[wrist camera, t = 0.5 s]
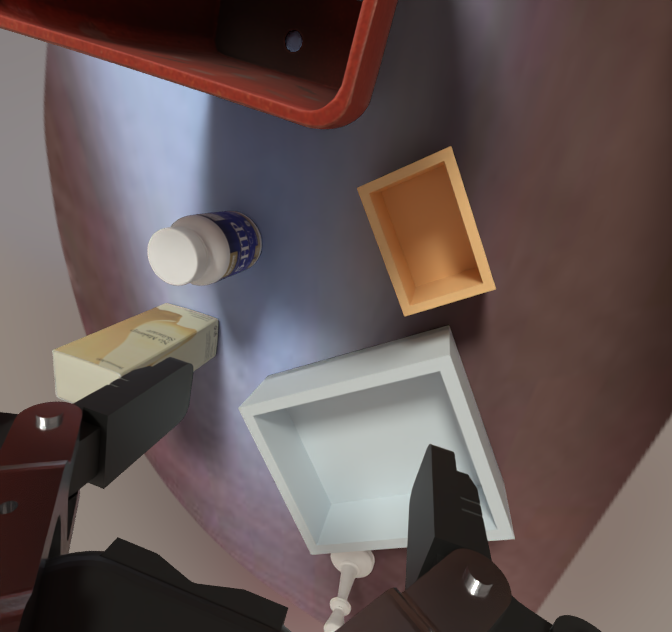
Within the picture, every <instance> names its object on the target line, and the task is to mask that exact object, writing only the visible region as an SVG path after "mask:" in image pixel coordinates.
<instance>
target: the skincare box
mask: <svg viewBox="0 0 672 632" xmlns="http://www.w3.org/2000/svg"><path fill="white" fill-rule="evenodd" d="M217 338H218V319H217V318H214V317H211V316H208V315H205V314H202V313H199V312H196V311H193V310H190V309H186V308H183V307H179V306H176V305H172V304H168V303H165V304H163V305H160V306H158V307H155V308H153V309H151V310H148V311H146V312H144V313H141V314H139V315H136V316H134V317H131V318H129V319H127V320H124V321H122V322H119V323H117V324H115V325H112V326H110V327H107V328H105V329H103V330H100V331H98V332H96V333H93V334H91V335H88V336H86V337H83V338H81V339H79V340H76V341H74V342H71V343H69V344H67V345H65V346H62V347H59V348H57V349H55V350H53V351H52V354H53V365H54V378H55V391H56V396H57V397H58V398H59V399H62V400H64V401H67V402H70V403H72V404H73V403H75V402H77V401H78V400H80V399H82V398H84V397H86V396H87V395H89V394H91V393H93V392H95V391H96V390H98V389H100V388H102V387H104V386H105V385H107V384H108V385H109V384H110V383H111V382H113V381H114V380H116V379H120V378H121V377H122V376H123V375H125V374H127V373H129V372H131V371H132V370H135V369H139V368H143V367H147V366H152V367H153V366H154V365H156V364H158V363H159V362H161V361H163V360H165V359H166V358H168V357H173V358H176V359H179V360H182V361H185V362H188V363H191V364H192V365H193V369H194V370H193V372H194V371H195V370H197V369H198V368H199V367H201V366H202V365H204V364H205V363H206V362H208V361H209V360H211V359H212V358H213V357H215V356H216V348H217Z"/></svg>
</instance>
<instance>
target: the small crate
mask: <svg viewBox="0 0 672 632" xmlns="http://www.w3.org/2000/svg"><path fill="white" fill-rule="evenodd" d="M357 190H358V193H359V196H360V198H361V201H362V204H363V206H364V209H365V212H366V214H367V217H368V220H369V222H370V225H371V228H372V230H373V233H374V236H375V239H376V241H377V244H378V247H379V249H380V252H381V255H382V257H383V260H384V263H385V265H386V268H387V271H388V273H389V276H390V279H391V282H392V284H393V287H394V290H395V292H396V295H397V298H398V300H399V303H400V306H401V308H402V311H403V314H404V316H408V315H412V314H415V313H418V312H422V311H425V310H428V309H432V308H435V307H438V306H442V305H445V304H448V303H452V302H455V301H458V300H462V299H465V298H468V297H472V296H475V295H478V294H482V293H485V292H488V291H492V290H495V289H496V288H495V284H494V281H493V278H492V275H491V272H490V268H489V265H488V262H487V259H486V256H485V252H484V249H483V246H482V243H481V240H480V236H479V233H478V230H477V227H476V224H475V220H474V217H473V214H472V211H471V208H470V204H469V201H468V198H467V195H466V192H465V188H464V185H463V182H462V179H461V176H460V172H459V169H458V166H457V163H456V160H455V156H454V153H453V150H452V147H451V146H450V147H448V148H445V149H443V150H441V151H439V152H436V153H434V154H432V155H430V156H427V157H425V158H423V159H421V160H418V161H416V162H414V163H412V164H409V165H407V166H405V167H403V168H400V169H398V170H396V171H394V172H391V173H389V174H387V175H385V176H383V177H380V178H378V179H376V180H374V181H371V182H369V183H367V184H365V185H362V186H360V187H358V188H357Z"/></svg>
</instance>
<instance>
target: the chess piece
mask: <svg viewBox="0 0 672 632" xmlns="http://www.w3.org/2000/svg"><path fill="white" fill-rule="evenodd" d="M331 560H332V563H333V565H334V566H335V567H336V568H337V569H338V570H339V571H340V572H341V577H340V584H339V591H338V597H334V598H332V599H331V600H330V608H331V609H332V611H333V612H332V614H331V616H330V618H329V619H328V620H327V622H326V623H325V625H324V632H335V631H336V630H337V629H338V628H340V627H341V626H342V625H343V624H344V616H345V615H348V614H349V613H350V611H351V606H350V604H349V602H348V601H347V599H348V596H349V593H350V590H351V587H352V585H353V582H354V580H355V578H362V577H365V576H367V575H369V574H370V573H371V571H372V569H373V566H374V563H375V559H374V555H373V553H372V552H371V550H366V551H353V552H341V553H331Z"/></svg>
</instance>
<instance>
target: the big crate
mask: <svg viewBox="0 0 672 632" xmlns="http://www.w3.org/2000/svg"><path fill="white" fill-rule="evenodd" d="M238 409H239V411H240V413H241V415H242V417H243V419H244V421H245V423H246V425H247V427H248V429H249V431H250V433H251V435H252V437H253V439H254V441H255V443H256V445H257V447H258V449H259V451H260V453H261V455H262V457H263V459H264V461H265V463H266V465H267V467H268V469H269V471H270V473H271V475H272V477H273V479H274V481H275V483H276V485H277V487H278V489H279V491H280V493H281V495H282V497H283V499H284V501H285V503H286V505H287V507H288V509H289V511H290V513H291V515H292V517H293V519H294V521H295V523H296V525H297V527H298V529H299V531H300V533H301V535H302V537H303V539H304V541H305V543H306V545H307V547H308V549H309V551H310V553H311V555H315V554H328V553H341V552H353V551H366V550H379V549H392V548H405V547H407V541H408V519H409V502H410V496H411V491H412V488H413V484H414V482H415V479H416V476H417V473H418V471H419V468H420V465H421V463H422V460H423V457H424V455H425V452H426V449H427V447H428V445H429V444H432V445H435V446H438V447H441V448H444V449H447V450H450V451H453V452H454V453H455V460H456V468H457V471H460V472H463V473H465V474H468V475H469V477H470V478H471V480H472V481H473V483H474V484H475V486H476V487H477V489H478V494H479V499H480V506H481V509H482V514H483V515H482V518H483V520H484V525H485V530H486V535H487V540H488V541H494V540H507V539H515V537H514V532H513V527H512V521H511V516H510V511H509V506H508V501H507V496H506V491H505V486H504V482H503V479H502V476H501V473H500V470H499V467H498V464H497V462H496V459H495V456H494V453H493V450H492V447H491V444H490V441H489V439H488V436H487V433H486V430H485V427H484V424H483V421H482V418H481V416H480V413H479V410H478V407H477V404H476V401H475V398H474V395H473V392H472V390H471V387H470V384H469V381H468V378H467V375H466V372H465V369H464V367H463V364H462V361H461V358H460V355H459V352H458V349H457V346H456V344H455V341H454V338H453V335H452V332H451V329H450V326H449V325H447V326H444V327H440V328H437V329H433V330H429V331H426V332H422V333H419V334H415V335H412V336H408V337H404V338H401V339H397V340H394V341H390V342H387V343H383V344H379V345H376V346H372V347H369V348H365V349H362V350H358V351H354V352H351V353H347V354H344V355H340V356H337V357H333V358H330V359H326V360H322V361H319V362H315V363H312V364H308V365H305V366H301V367H297V368H294V369H290V370H287V371H283V372H280V373H276V374H272V375H269V376H267V377H266V379H265V380H264V381H263V382H262V383H261V384H260V385H259V386H258V387H257V388H256V389H255V390H254V392H253V393H252V394H251V395H250V396H249V397H248V398H247V399H246V400H245V401H244V402H243V404H242V405H241V406H240V407H239V408H238Z"/></svg>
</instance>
